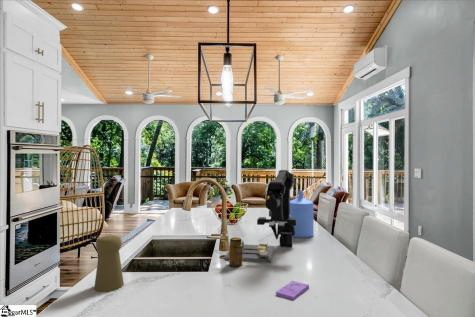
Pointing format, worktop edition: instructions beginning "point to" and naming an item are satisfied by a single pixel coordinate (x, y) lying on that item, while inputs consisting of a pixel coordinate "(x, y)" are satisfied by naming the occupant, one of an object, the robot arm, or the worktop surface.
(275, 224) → the robot arm
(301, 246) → the worktop surface
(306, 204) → the water jug
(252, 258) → the panel
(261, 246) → the slider
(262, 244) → the slider
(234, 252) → the condiment
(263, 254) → the button
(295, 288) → the sponges
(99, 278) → the cork
